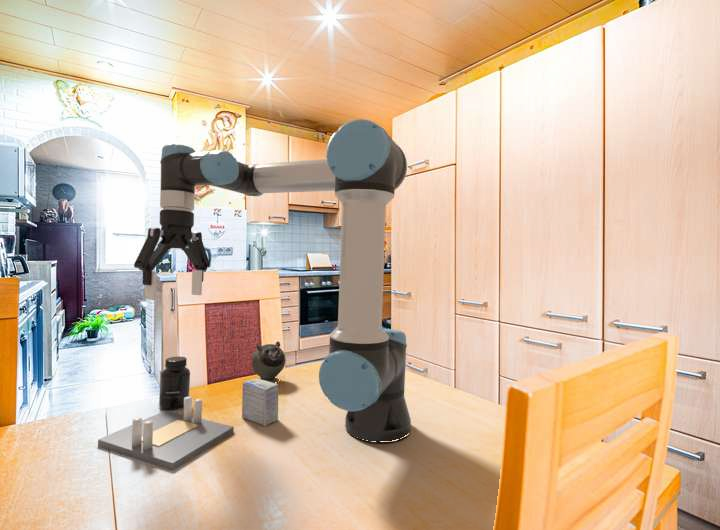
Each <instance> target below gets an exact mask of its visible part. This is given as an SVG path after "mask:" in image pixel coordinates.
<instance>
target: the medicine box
mask: <svg viewBox="0 0 720 530" xmlns="http://www.w3.org/2000/svg"><path fill="white" fill-rule="evenodd" d="M241 399H242V401H241V407H242V408H241V417H242V418H243V419H245V420H249V421H250V422H254V423H256V424H259V425H262V426H264V427H266V426H268V425H270V424H272V423H274V422H276V421H278V420H279V383H277V384H275V383H272V382H268V381H265V380H261V378H253V379H249V380H247V381H244V382H242V398H241Z"/></svg>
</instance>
